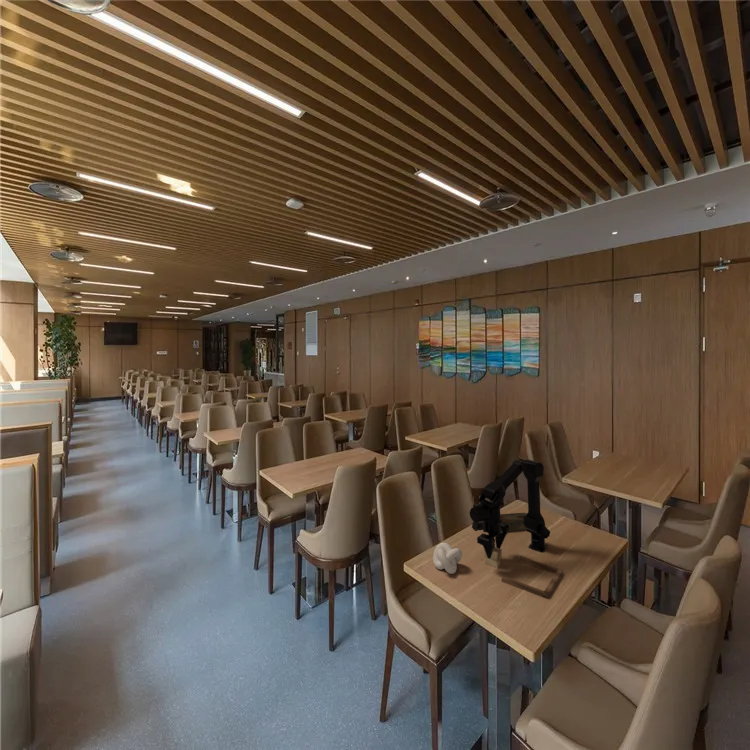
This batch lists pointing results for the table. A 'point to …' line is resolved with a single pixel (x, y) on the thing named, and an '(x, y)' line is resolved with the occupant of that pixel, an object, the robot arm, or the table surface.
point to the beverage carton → (514, 521)
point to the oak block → (494, 558)
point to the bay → (534, 590)
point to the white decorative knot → (446, 557)
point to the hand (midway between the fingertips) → (493, 553)
